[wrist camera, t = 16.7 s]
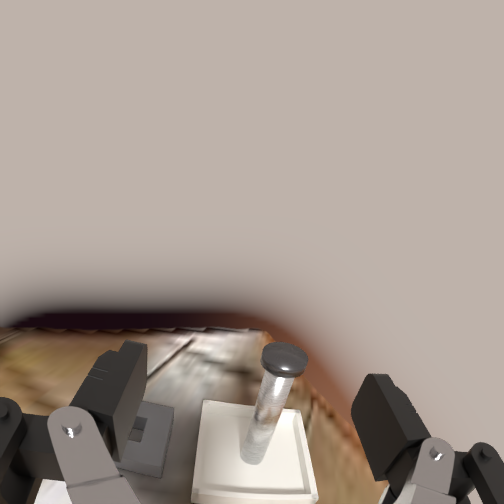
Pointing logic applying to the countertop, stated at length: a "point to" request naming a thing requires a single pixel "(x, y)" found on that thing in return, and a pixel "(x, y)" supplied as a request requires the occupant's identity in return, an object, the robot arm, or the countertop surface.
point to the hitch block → (149, 440)
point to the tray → (245, 475)
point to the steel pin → (272, 396)
